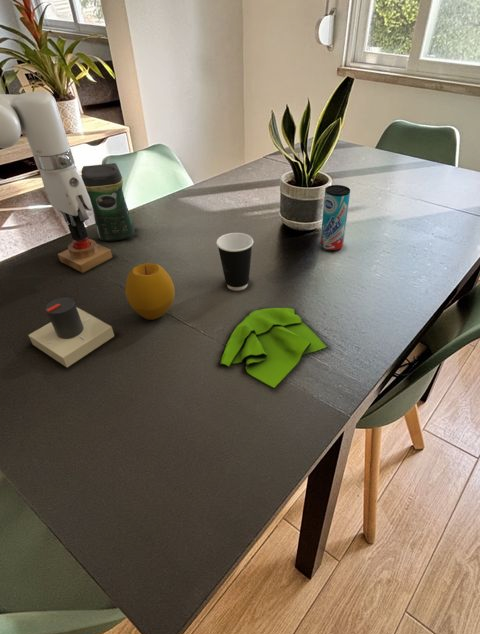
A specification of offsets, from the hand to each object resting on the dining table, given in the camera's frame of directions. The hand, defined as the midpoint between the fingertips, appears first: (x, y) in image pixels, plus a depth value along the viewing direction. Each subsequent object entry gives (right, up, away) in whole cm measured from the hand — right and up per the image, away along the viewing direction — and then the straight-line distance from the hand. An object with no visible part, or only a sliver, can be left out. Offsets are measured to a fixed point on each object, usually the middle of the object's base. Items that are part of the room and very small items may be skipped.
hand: (80, 238), depth 103 cm
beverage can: (+62, 0, +8) cm, 62 cm away
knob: (+7, -23, -21) cm, 32 cm away
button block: (0, -4, +4) cm, 6 cm away
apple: (+22, -20, -13) cm, 32 cm away
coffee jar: (+4, +4, +14) cm, 15 cm away
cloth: (+45, -26, -21) cm, 56 cm away
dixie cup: (+38, -12, -5) cm, 40 cm away
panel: (+7, -25, -19) cm, 32 cm away
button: (0, -2, +1) cm, 2 cm away
